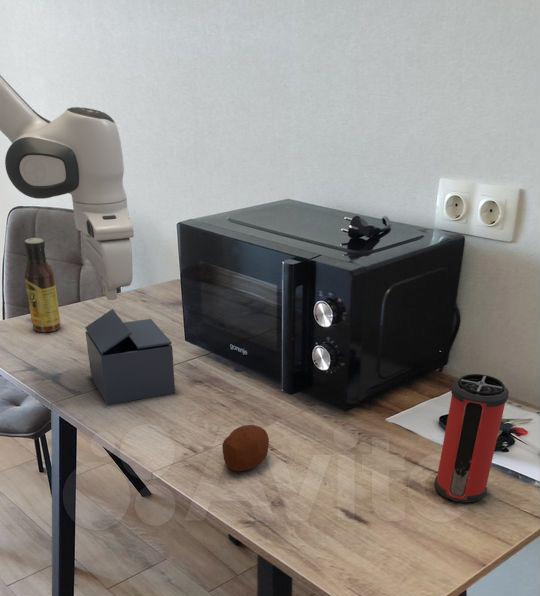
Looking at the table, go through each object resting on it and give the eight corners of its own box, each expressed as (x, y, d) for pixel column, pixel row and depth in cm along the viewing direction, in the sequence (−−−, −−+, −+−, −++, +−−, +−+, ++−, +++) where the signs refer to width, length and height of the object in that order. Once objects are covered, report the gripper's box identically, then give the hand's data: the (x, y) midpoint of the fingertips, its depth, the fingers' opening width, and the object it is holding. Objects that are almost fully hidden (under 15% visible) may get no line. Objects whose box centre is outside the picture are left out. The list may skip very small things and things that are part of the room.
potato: (209, 465, 112) (208, 429, 109) (252, 445, 118) (252, 410, 114) (239, 482, 108) (239, 446, 104) (281, 461, 114) (283, 425, 110)
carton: (107, 405, 129) (101, 352, 123) (91, 377, 139) (84, 327, 133) (175, 393, 133) (172, 342, 128) (154, 367, 143) (151, 318, 138)
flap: (102, 354, 123) (100, 352, 123) (85, 329, 133) (84, 327, 133) (132, 333, 124) (130, 332, 124) (113, 310, 134) (112, 308, 133)
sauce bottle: (31, 325, 161) (15, 237, 150) (58, 322, 163) (45, 234, 152) (35, 335, 156) (20, 244, 145) (64, 332, 158) (51, 242, 147)
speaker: (428, 496, 106) (448, 388, 96) (440, 472, 112) (459, 367, 102) (480, 509, 103) (505, 399, 93) (489, 483, 109) (513, 377, 99)
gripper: (70, 205, 125) (80, 282, 132) (96, 232, 109) (106, 318, 117) (105, 202, 127) (113, 278, 135) (136, 229, 111) (143, 313, 119)
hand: (110, 297), depth 126 cm, fingers closed
